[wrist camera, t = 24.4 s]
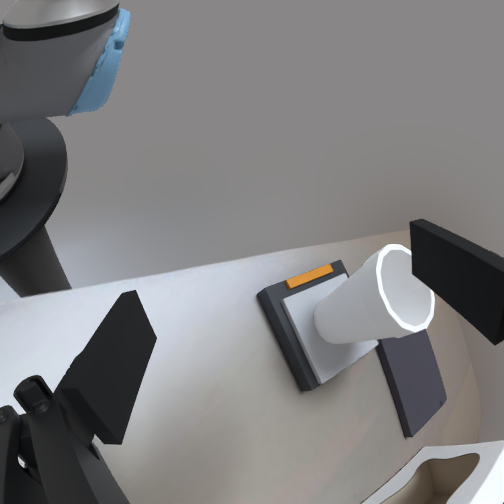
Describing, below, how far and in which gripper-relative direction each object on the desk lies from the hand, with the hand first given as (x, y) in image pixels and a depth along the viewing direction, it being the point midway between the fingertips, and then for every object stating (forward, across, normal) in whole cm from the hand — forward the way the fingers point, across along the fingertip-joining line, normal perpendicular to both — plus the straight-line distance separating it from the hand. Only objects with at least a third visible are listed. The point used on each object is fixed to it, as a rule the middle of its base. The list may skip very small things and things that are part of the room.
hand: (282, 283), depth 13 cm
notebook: (+22, +20, -33) cm, 44 cm away
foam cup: (+20, +6, -17) cm, 28 cm away
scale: (+23, +5, -19) cm, 30 cm away
